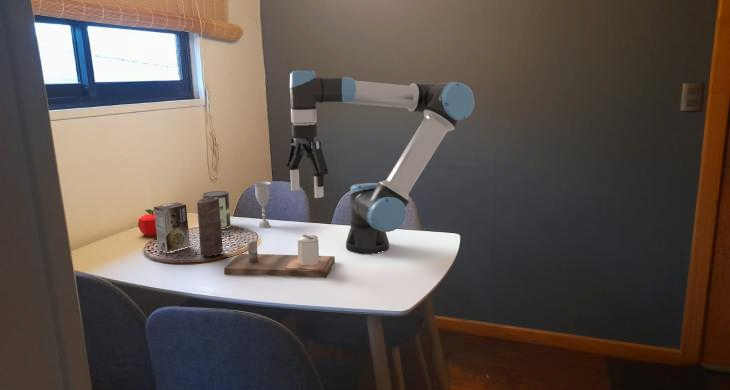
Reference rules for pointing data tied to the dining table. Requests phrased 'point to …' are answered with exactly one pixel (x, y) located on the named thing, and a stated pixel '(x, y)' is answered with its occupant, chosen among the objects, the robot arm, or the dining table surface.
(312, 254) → the white cylinder
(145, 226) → the apple
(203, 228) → the brown tall block
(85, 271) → the dining table surface
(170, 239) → the coffee box
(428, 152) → the robot arm
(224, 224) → the coffee can
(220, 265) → the dining table surface
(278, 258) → the post board
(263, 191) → the chalice
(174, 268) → the dining table surface
